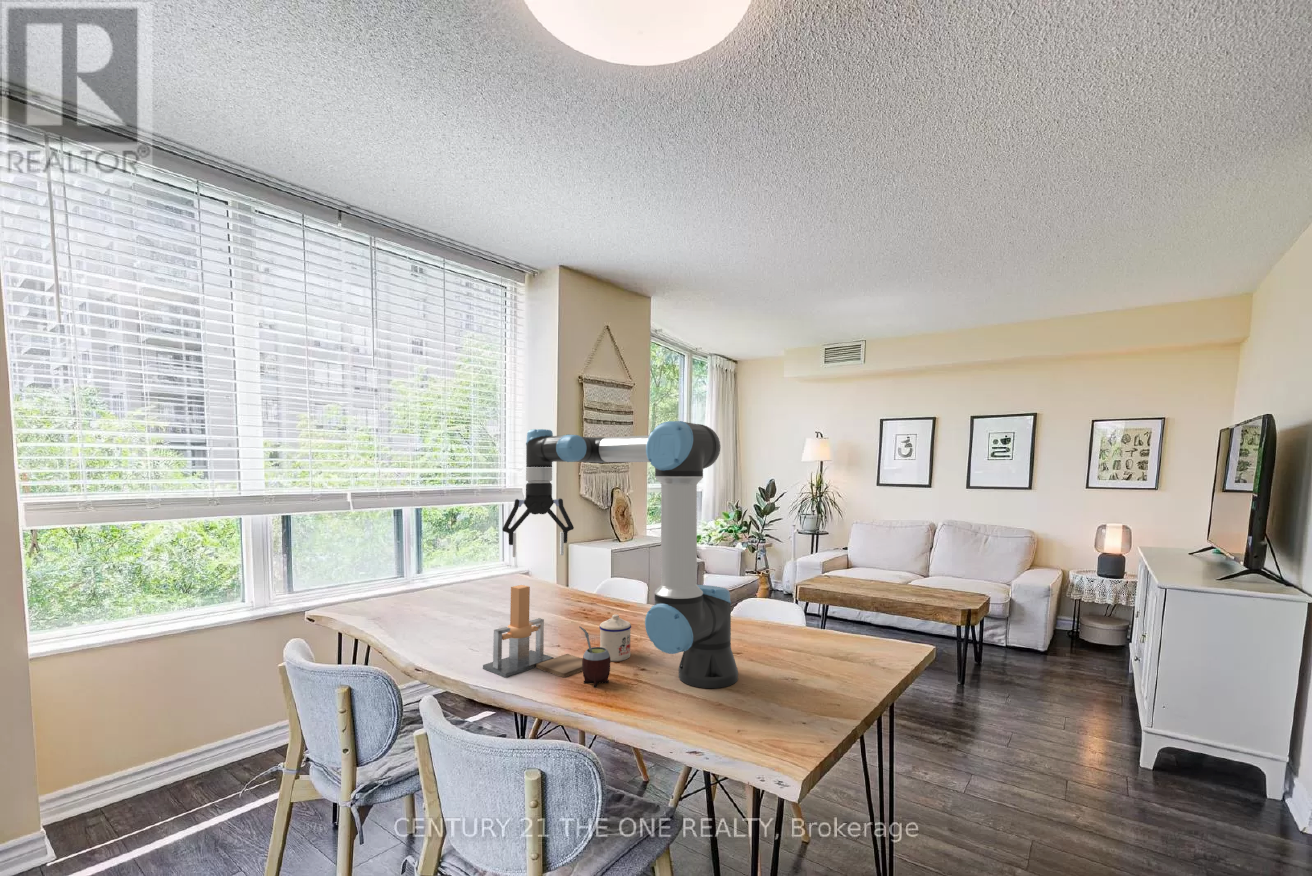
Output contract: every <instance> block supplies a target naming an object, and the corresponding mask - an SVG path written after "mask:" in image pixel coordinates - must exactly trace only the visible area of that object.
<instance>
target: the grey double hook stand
mask: <svg viewBox="0 0 1312 876" xmlns="http://www.w3.org/2000/svg"><path fill="white" fill-rule="evenodd" d="M529 623H530V624H532V626H537V627H538V631H535V650H532V649H531V650H530V637H531V636H529V637H526V638H509V639H508V640H509V642H508V644H509V647H508V649H509V650H508V657H505V658H504V657H503V658H502V656H503V655H502V654H503V653H502V652H503V650H502V649H503V640H502V634H506V633H507V632H509V631H510V628H508V626H504V627H499V628H496V629H493V646H492V647H493V648H492V649H493V653H492V655H493V656H492V662H488V663H485V664H482V669H483V670H485V671H488V672H490V673H493V674H495V675H498V676H500V677H503V678H508V677H510V676H514V675H517V674H520V673H522V672H526V671H529V670H532V669H535V668H536V664H538V663H541V662H544V661H547V660H550V659H553V658H555V657H553V656H551V655H548V654H544V652H545V651H544V648H545V647H544V642H545V641H544V640H545V638H544V637H545V633H544V632H545V631H544V630H545V619H543V618H540V617H539V618H534V619H531V620H529Z"/></svg>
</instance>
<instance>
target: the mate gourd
mask: <svg viewBox="0 0 1312 876" xmlns="http://www.w3.org/2000/svg"><path fill="white" fill-rule="evenodd" d="M579 629H580V630H581V631H582V632H583V634H584V637H585V638H586V642H587V646H588V648H587V649H585V651H584V653H583V656H582V658H583V660H582V670H583V671H582V676H583V679H584V680H583V684H593V688H597V687H598V685H599V684H609V683H610V680H609V676H610V674H611V673H610V672H611V662H612V661H611V660H610V654H609V652H608V651H607V649H605V648H603V647H600V646H594V647H592V645H591V642H590V635H589V633H588V631H587V630H586V629H584V628H583V627H582V626H579Z"/></svg>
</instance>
